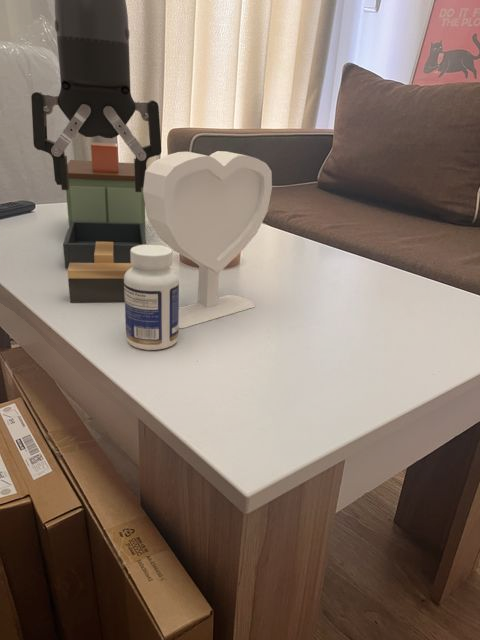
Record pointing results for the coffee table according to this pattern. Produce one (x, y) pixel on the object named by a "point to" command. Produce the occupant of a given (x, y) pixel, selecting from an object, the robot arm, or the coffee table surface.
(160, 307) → the pill bottle
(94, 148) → the block
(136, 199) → the cabinet
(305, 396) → the coffee table surface
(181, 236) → the heart sculpture
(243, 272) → the coffee table surface
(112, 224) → the tray
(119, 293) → the brush
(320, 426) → the coffee table surface
